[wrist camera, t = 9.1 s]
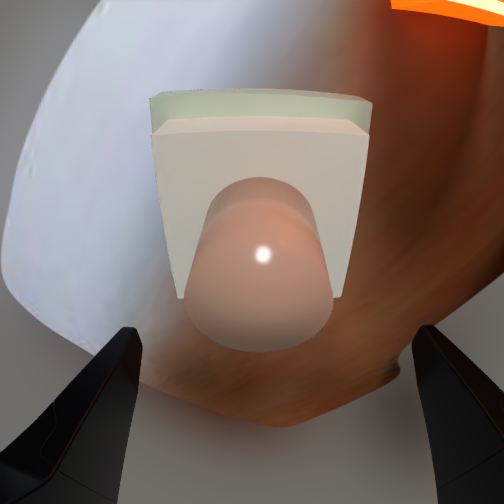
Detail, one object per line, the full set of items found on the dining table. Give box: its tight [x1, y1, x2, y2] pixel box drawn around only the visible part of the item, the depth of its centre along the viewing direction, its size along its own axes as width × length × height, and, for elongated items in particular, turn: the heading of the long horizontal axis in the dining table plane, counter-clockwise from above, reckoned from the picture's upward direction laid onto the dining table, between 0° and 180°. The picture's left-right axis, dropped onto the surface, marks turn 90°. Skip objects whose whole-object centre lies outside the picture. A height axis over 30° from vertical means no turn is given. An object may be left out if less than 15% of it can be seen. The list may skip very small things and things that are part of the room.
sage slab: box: [149, 88, 373, 274], centre depth 18 cm, size 11×11×3 cm
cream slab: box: [151, 116, 370, 298], centre depth 16 cm, size 9×9×3 cm
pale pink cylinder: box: [184, 177, 333, 352], centre depth 13 cm, size 5×5×5 cm
